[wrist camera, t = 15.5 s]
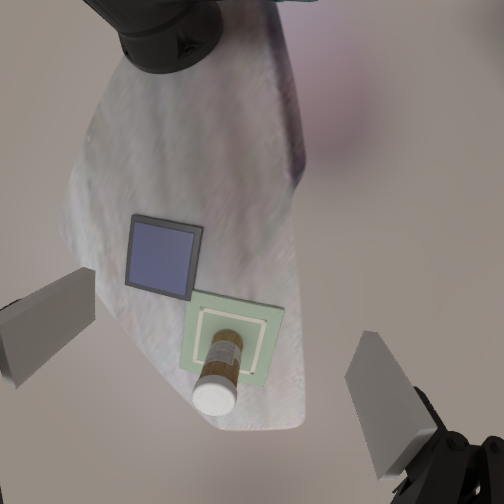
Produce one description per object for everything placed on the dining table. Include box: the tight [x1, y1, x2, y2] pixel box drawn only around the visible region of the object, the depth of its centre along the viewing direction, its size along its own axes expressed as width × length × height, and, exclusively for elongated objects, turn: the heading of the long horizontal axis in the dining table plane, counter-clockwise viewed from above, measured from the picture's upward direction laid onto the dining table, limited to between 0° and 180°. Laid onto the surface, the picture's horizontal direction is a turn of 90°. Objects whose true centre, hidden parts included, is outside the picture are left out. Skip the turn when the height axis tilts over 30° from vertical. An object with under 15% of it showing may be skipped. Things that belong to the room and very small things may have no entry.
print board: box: [179, 289, 284, 387], centre depth 40 cm, size 13×13×1 cm
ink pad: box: [125, 215, 203, 302], centre depth 38 cm, size 10×10×1 cm
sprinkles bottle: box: [192, 330, 243, 416], centre depth 33 cm, size 5×4×14 cm
